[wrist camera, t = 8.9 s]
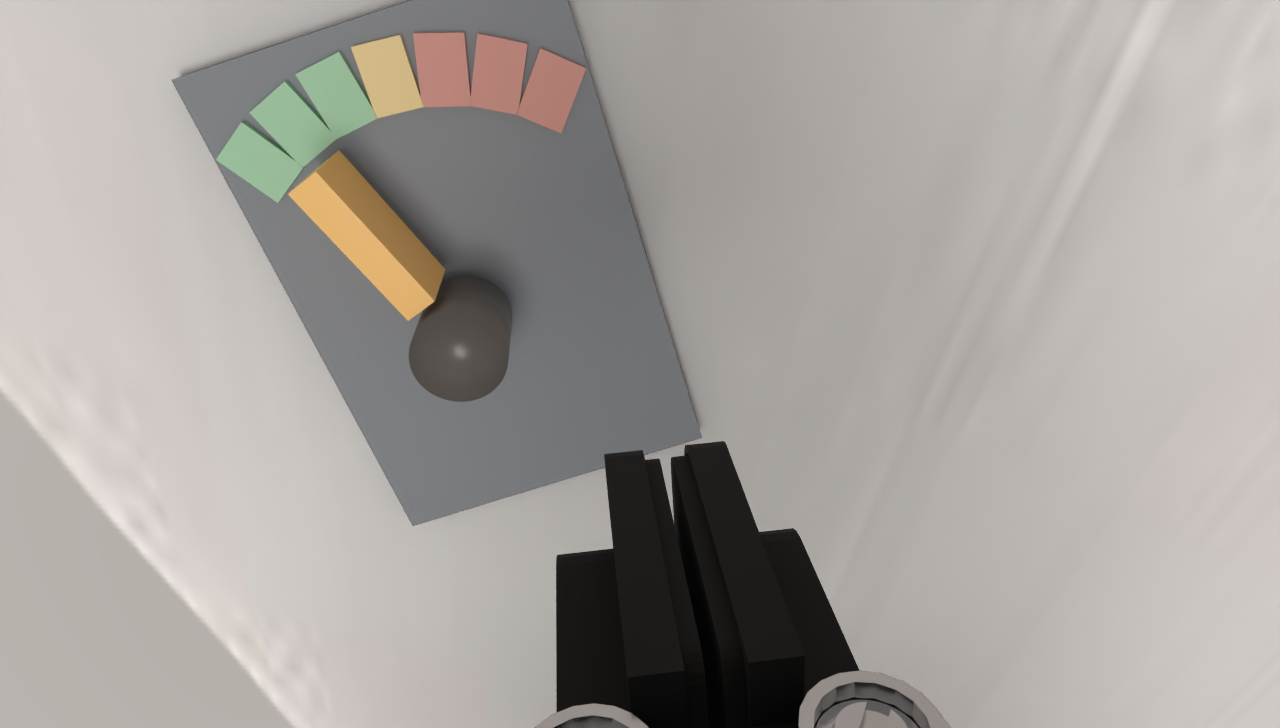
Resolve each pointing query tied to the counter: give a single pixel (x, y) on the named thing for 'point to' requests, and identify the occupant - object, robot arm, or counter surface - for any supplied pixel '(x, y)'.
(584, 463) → the dial board
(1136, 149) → the counter surface
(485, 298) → the dial knob with pointer
